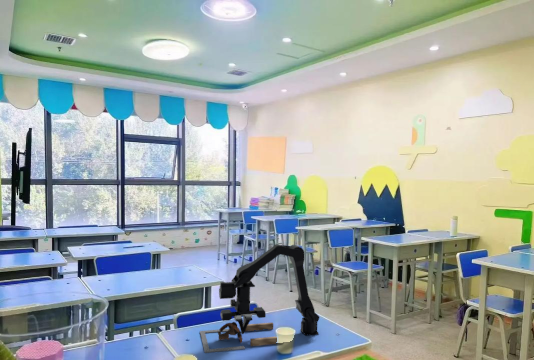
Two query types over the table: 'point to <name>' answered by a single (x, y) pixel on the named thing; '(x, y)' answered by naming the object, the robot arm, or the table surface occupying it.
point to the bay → (207, 350)
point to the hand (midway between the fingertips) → (242, 333)
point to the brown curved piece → (230, 331)
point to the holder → (261, 340)
